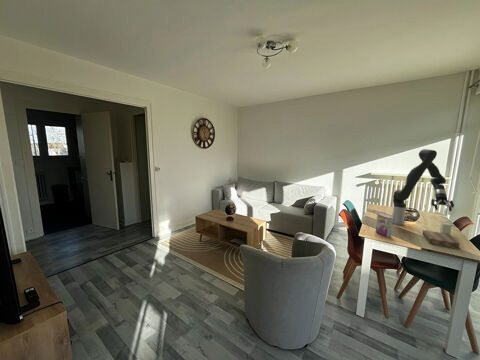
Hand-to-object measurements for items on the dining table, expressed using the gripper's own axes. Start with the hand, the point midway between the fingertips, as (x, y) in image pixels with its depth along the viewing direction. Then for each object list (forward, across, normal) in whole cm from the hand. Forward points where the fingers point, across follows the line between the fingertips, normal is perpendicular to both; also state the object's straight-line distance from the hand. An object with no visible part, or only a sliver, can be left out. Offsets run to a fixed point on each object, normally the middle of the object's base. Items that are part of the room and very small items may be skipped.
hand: (443, 210), depth 178 cm
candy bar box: (+38, -45, -12) cm, 60 cm away
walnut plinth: (+33, -8, -7) cm, 35 cm away
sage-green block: (+21, 0, +6) cm, 22 cm away
